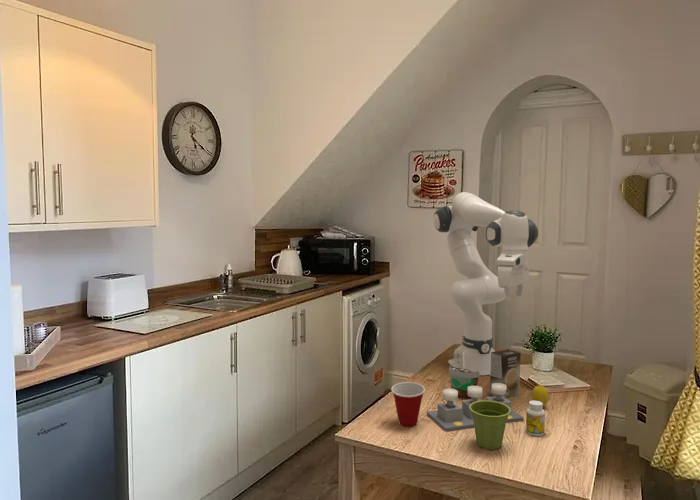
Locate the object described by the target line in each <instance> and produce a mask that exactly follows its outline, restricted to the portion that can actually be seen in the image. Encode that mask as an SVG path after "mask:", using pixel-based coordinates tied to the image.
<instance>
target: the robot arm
mask: <svg viewBox="0 0 700 500" xmlns="http://www.w3.org/2000/svg"><path fill="white" fill-rule="evenodd" d="M433 225H434V227H435V229H436V230H437V231H438V232H439V233H448V234H447V236H446V237H447V244H448V246H447V247H448V250H449V253H450V255H451V259H452V261H453V264H454V266H455V269H456V271H457V273H458V274H460V275H461V276H463V277H466V278H465V279H464V278H463V279H460V280H458V281H454V282H453V283H452V285H451V287H450V293H449V295H450V298H451V301H452V302H453V303H454V304H455V305H457V306H458V307H459V309H460V310H461V313H462V315H463V319H464V321H463V322H464V335H462V336H461V338H462V343H461V344H460V345H459V346H458V347H457V348H456V349H454V351H453V352H454V353H452V354H453V355H452V356H453V357H452V358H451V359H449V360H448V361H447V363H448V364H449V365H450V366H451V365H452V364H453V367H456V368H461V369H467V370H469V371H471V372H477V371H479V374H480V376H488V375H489V376H490V370H491V352H496V350H495V349H494V338H493V320H492V318H491V317H490V316H489V315H488V314H487V313H485V312H484V311H483V305H491V304H496V303H499V302H503V301H505V300H506V301H511V300H513V294H512V289H513V287H516V291H515V297H522V296H523V291H524V287H525V283H528V282H529V280H530V265H529V248H530V247H531V246H533V244H535V242H536V241H537V239H538V237H539V229H538V227H537V225H536V223H535V222H534V221H532V220H531V219H529V218H528V216H527V213H525V212H523V211H521V210H520V211H519V210H507V211H506V210H504V209H501V208H499V207H497V206H495V205H493V204H491V203H489V202H487V201H485V200H483V199H482V198H481V197H479V196H477V195H476V194H475V193H470V192H468V191H462V192H459V193H457V194H456V195H455V197H453V200H452V205H449V206H447V205H445V206H442V207H441V208H439V209H437V210H436V211H434V213H433ZM479 227H486V228H485V229H486V230H485V238H486V239H485V240H486V241H487V242H488V244H489V245H491V246H492V247H496V248H501V253H500V255H499V256H498V257H497V259H496V265H497V266H498V267H497V275H495V274H494V273H493V272H492V271H491V270H490V269H489V268H488V267H487V266H486V265H485V263H484V261H483V260H482V258H481V257H482V256H480V253H479V251H478V248H477V245H476V243H475V242H474V240H473V238H472V231H473V232H477V231H478V230H479Z"/></svg>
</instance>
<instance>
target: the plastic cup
mask: <svg viewBox="0 0 700 500" xmlns="http://www.w3.org/2000/svg"><path fill="white" fill-rule="evenodd" d="M390 391H391V392H392V393H393V394H392V395H393V398H394V402H395V411H396V414H397V419H398V424H399V425H400V426H402V427H406V428H412V427H415V426H417V424H418V420H419V416H420V411H421V406H422V405H421V404H422V399H423V395H424V393H425V391H426V388H425V386H424V385H422V384H420V383H419V382H418V383H417V382H411V381H405V382H404V381H403V382H398V383H395V384H394V385H392V386H391V390H390Z"/></svg>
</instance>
